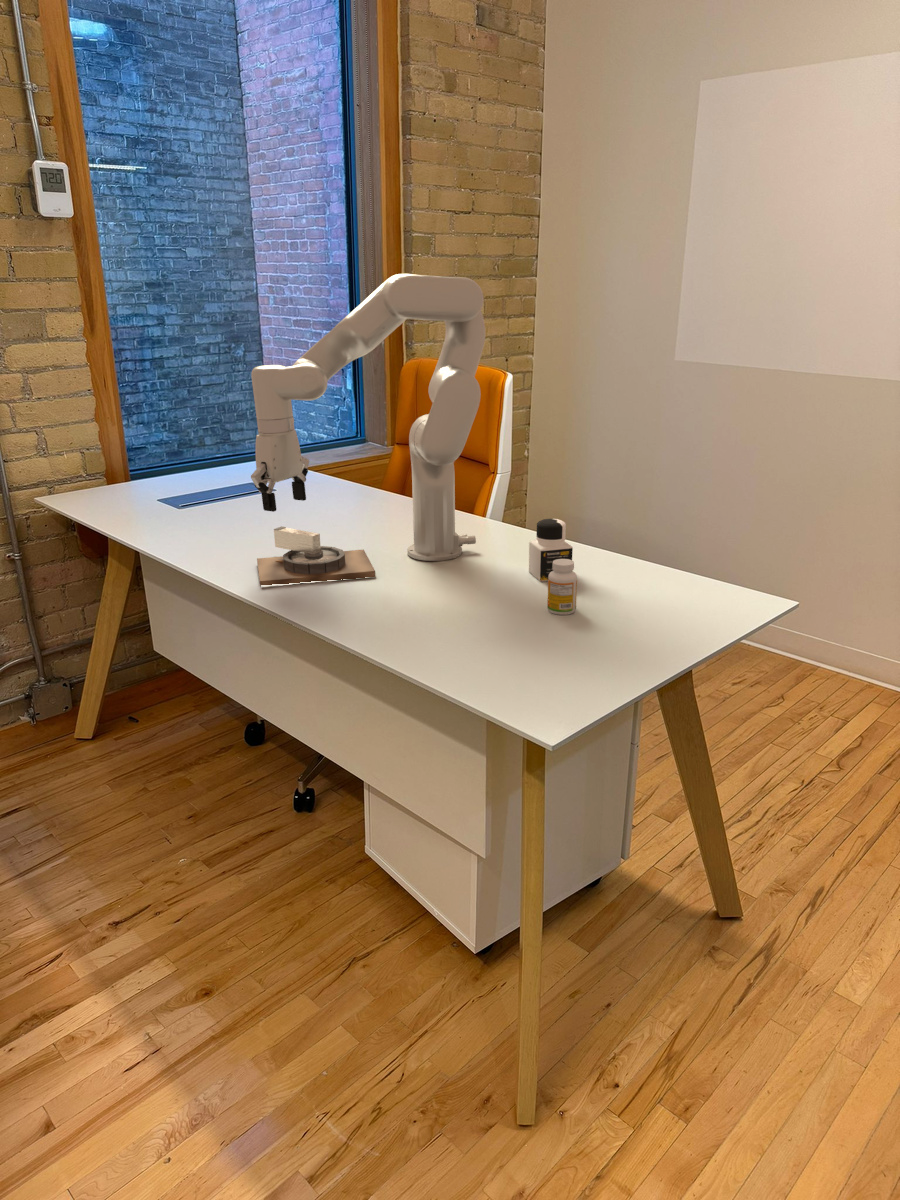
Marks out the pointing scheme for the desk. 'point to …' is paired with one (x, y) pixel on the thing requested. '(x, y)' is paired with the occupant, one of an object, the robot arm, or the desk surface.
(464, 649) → the desk surface
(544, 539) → the medicine bottle
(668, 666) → the desk surface
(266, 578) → the dial base
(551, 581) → the supplement bottle
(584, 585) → the desk surface
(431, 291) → the robot arm
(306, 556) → the dial
